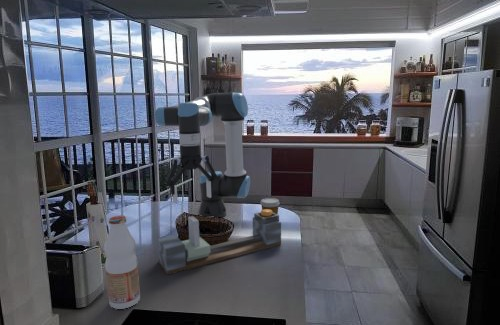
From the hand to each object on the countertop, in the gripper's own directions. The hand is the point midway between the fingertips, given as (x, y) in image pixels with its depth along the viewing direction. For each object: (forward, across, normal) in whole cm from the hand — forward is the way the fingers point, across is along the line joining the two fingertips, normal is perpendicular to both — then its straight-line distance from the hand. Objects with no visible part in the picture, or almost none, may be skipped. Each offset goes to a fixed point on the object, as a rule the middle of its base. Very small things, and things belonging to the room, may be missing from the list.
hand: (192, 199), depth 138 cm
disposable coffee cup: (+25, +47, +18) cm, 56 cm away
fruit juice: (+25, -30, -16) cm, 42 cm away
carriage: (+23, 0, 0) cm, 23 cm away
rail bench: (+25, +12, 0) cm, 27 cm away
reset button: (+13, +33, 0) cm, 36 cm away
